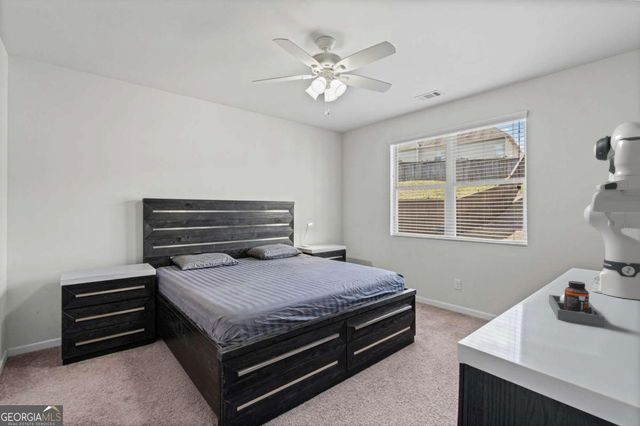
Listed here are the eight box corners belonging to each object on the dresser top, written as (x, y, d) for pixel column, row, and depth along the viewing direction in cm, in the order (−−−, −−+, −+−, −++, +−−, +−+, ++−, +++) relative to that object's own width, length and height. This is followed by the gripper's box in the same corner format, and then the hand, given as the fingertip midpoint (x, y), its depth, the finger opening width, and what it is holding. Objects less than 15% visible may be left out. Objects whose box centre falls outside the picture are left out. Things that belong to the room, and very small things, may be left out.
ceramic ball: (558, 305, 108) (558, 290, 108) (578, 308, 105) (579, 292, 105) (561, 309, 103) (561, 293, 103) (582, 313, 100) (582, 296, 100)
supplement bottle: (589, 322, 92) (590, 285, 91) (564, 317, 95) (564, 282, 95) (587, 317, 96) (588, 281, 96) (563, 312, 100) (564, 279, 100)
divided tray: (548, 304, 111) (549, 294, 111) (586, 309, 106) (586, 299, 106) (557, 321, 94) (557, 309, 94) (603, 328, 88) (603, 316, 88)
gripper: (672, 184, 98) (671, 226, 98) (589, 186, 108) (588, 224, 109) (682, 183, 92) (681, 228, 93) (594, 185, 103) (593, 225, 103)
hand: (630, 226), depth 101 cm, fingers open, 8 cm apart
